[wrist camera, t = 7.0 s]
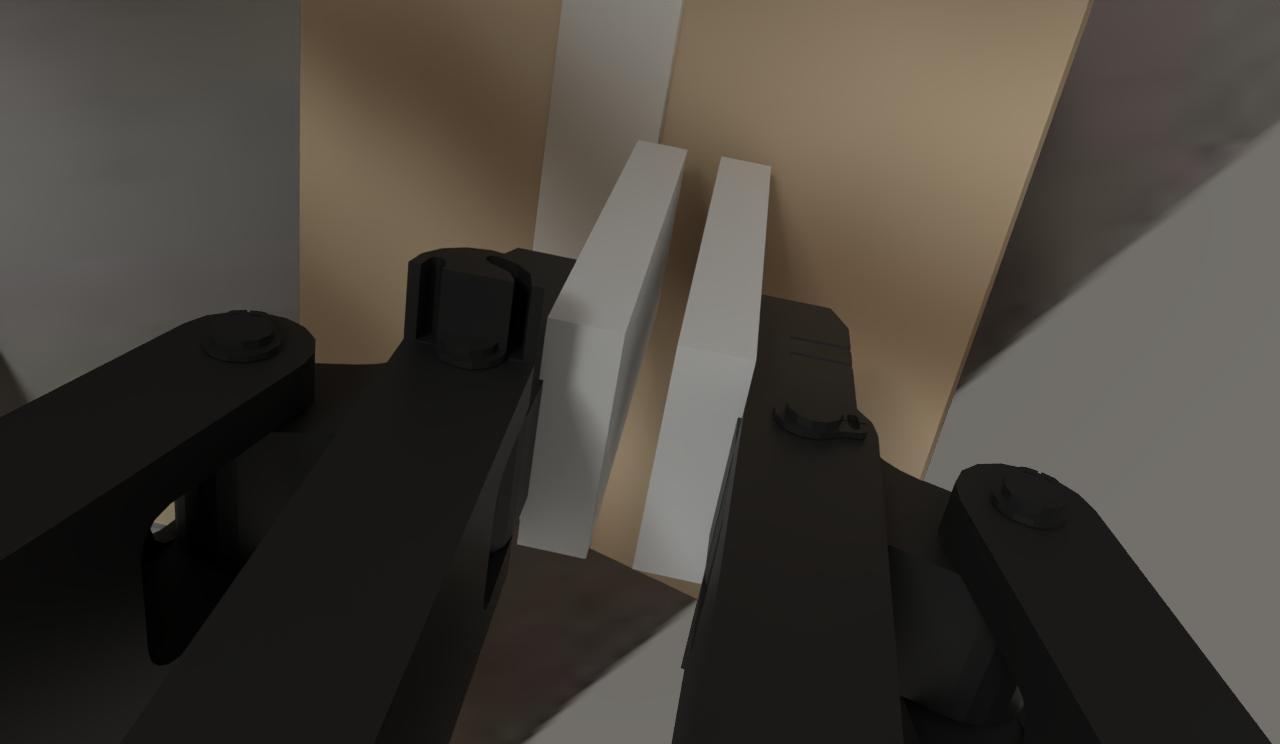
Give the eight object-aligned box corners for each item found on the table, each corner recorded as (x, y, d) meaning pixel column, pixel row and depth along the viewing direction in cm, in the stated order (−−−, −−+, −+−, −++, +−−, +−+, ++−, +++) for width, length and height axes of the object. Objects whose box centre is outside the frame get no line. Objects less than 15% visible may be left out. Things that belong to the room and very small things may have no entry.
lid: (338, -410, 16) (297, -424, 16) (1200, -299, 12) (1198, -311, 11) (324, 395, 24) (295, 411, 23) (863, 646, 19) (848, 675, 18)
